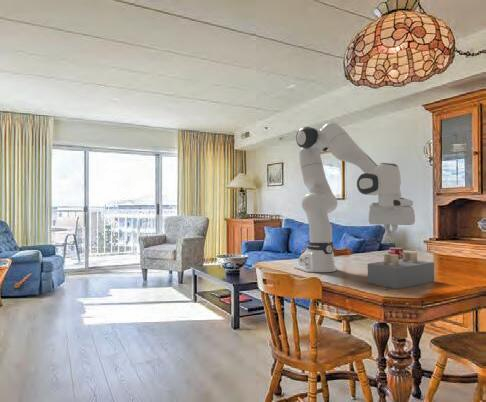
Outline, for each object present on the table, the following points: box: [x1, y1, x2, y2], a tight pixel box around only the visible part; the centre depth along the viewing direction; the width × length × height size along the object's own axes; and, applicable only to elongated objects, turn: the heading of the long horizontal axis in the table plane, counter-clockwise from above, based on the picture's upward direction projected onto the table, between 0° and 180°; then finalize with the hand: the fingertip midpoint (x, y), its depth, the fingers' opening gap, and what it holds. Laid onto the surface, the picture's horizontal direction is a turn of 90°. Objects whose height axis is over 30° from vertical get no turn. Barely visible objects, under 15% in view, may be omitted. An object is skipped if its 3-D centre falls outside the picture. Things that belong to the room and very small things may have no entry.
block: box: [367, 259, 435, 290], centre depth 160 cm, size 14×24×8 cm, turn 120°
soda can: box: [387, 246, 405, 259], centre depth 180 cm, size 7×7×12 cm
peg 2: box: [403, 251, 418, 263], centre depth 163 cm, size 4×4×7 cm
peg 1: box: [383, 253, 399, 266], centre depth 157 cm, size 4×4×7 cm
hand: (391, 235), depth 157 cm, fingers closed
